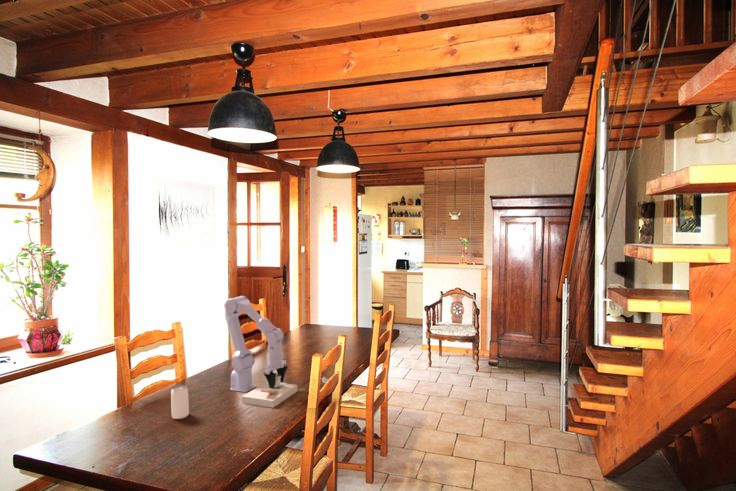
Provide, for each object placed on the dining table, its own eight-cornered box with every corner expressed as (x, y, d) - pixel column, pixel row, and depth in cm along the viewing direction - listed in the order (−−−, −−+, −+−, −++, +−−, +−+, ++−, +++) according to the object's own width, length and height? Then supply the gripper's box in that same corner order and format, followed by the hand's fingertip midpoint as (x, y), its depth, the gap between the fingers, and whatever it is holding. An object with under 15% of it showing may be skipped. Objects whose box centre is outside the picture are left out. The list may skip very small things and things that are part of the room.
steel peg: (269, 394, 199) (269, 377, 199) (274, 390, 203) (273, 374, 203) (278, 395, 198) (278, 378, 197) (283, 391, 202) (282, 374, 202)
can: (172, 420, 173) (171, 391, 173) (171, 414, 179) (170, 386, 178) (189, 417, 176) (188, 388, 176) (188, 411, 182) (187, 383, 181)
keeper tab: (260, 391, 187) (261, 389, 188) (270, 392, 194) (270, 390, 194) (268, 392, 186) (269, 390, 186) (277, 393, 193) (278, 391, 193)
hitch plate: (241, 403, 189) (241, 396, 189) (268, 387, 208) (268, 381, 208) (273, 407, 184) (272, 400, 184) (297, 391, 202) (297, 384, 202)
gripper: (274, 360, 192) (275, 391, 192) (291, 352, 205) (292, 380, 206) (260, 359, 194) (261, 389, 195) (278, 350, 208) (279, 378, 208)
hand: (276, 384), depth 200 cm, fingers open, 7 cm apart
